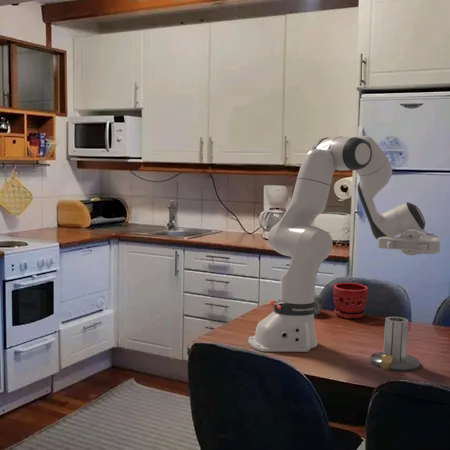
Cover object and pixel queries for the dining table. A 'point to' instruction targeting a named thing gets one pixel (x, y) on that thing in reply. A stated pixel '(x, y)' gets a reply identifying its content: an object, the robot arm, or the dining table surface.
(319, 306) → the spool
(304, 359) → the dining table surface
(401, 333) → the octagonal pipe segment
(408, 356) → the grey pot lid
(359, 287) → the plant pot
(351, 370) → the dining table surface
